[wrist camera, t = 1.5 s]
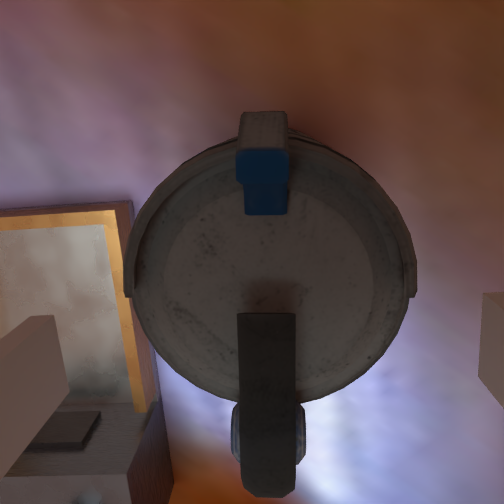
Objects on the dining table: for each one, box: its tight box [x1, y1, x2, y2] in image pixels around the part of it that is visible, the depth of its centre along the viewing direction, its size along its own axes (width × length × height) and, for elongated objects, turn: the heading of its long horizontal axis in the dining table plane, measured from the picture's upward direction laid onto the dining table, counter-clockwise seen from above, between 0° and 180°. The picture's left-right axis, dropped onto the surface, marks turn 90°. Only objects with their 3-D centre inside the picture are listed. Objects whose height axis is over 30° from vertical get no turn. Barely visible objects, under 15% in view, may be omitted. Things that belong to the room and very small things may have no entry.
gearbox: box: [0, 200, 174, 504], centre depth 36 cm, size 28×15×12 cm, turn 4°
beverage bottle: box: [123, 111, 417, 498], centre depth 25 cm, size 10×13×25 cm
